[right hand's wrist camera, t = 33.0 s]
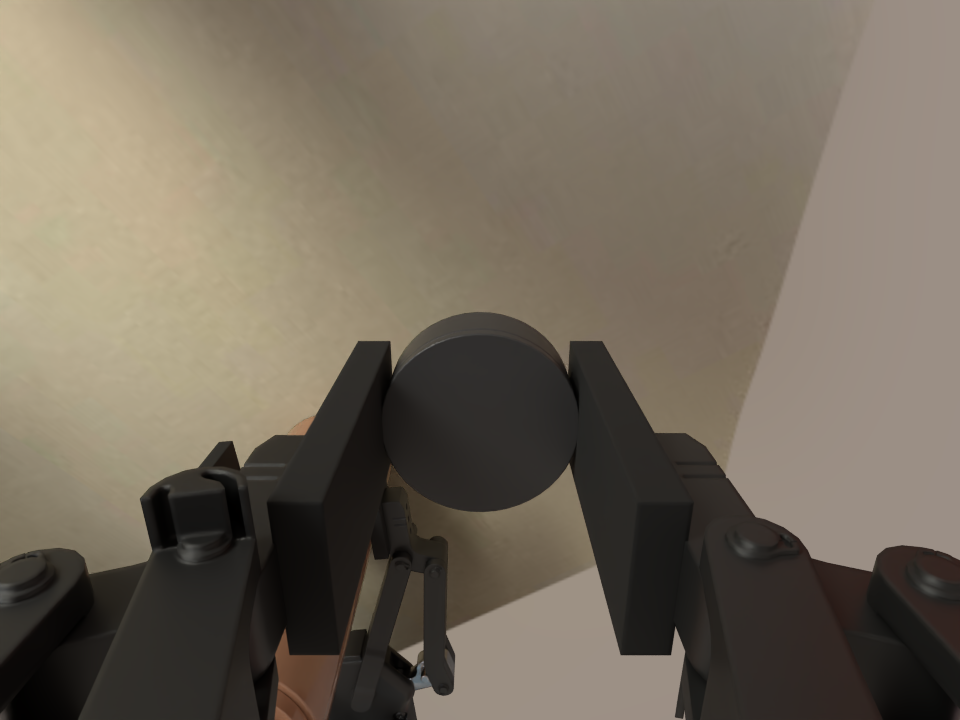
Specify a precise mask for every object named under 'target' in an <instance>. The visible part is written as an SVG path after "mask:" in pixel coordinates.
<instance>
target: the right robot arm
mask: <svg viewBox="0 0 960 720" xmlns="http://www.w3.org/2000/svg"><path fill="white" fill-rule="evenodd" d="M391 377H392V362H391V345H390V341H358V343H357V344H356V346H355V348H354V350H353V351H352V353H351V355H350V357H349V358H348V360H347V362H346V364H345V365H344V367H343V369H342V371H341V372H340V374H339V376H338V378H337V379H336V381H335V383H334V385H333V386H332V388H331V390H330V392H329V393H328V395H327V397H326V399H325V400H324V402H323V404H322V406H321V407H320V409H319V411H318V413H317V414H316V416H315V418H314V420H313V421H312V423H311V425H310V427H309V428H308V430H307V432H306V434H305V435H275V436H273V437H272V438H270V439H269V440H267V441H266V442H264V443H263V444H261V445H260V446H258V447H257V448H255V449H254V451H253V452H252V454H251V455H250V456H249V458H248V459H247V461H246V462H245V464H244V467H242V468H241V469H240V471H238V470H235V469H231V468H227V467H201V468H196V469H191V470H186V471H183V472H180V473H177V474H175V475H172V476H169V477H167V478H165V479H163V480H161V481H160V482H158V483H156V484H155V485H153V486H152V487H150V488H149V489H148V490H147V491H146V492H145V494H144V495H143V496H142V497H141V498H140V501H141V505H142V509H143V514H144V518H145V522H146V526H147V530H148V535H149V539H150V543H151V547H152V553H151V555H150V558H149V560H148V561H147V562H143V563H140V564H136V565H132V566H127V567H123V568H118V569H113V570H108V571H103V572H98V573H94V574H89V573H88V570H87V566H86V563H85V559H84V558H83V557H82V556H81V555H80V554H79V553H77V552H76V551H74V550H68V549H62V548H54V549H44V550H37V551H32V552H28V553H26V554H25V553H24V554H21V555H18V556H15V557H12V558H11V559H9V560H7V561H5V562H3V563H1V564H0V720H274V719H275V710H276V701H277V692H278V683H279V677H278V670H277V663H276V657H275V653H276V651H277V648H278V646H279V643H280V640H281V638H282V635H283V633H284V630H285V629H286V636H287V642H288V649H289V655H340V652H341V648H342V644H343V641H344V637H345V633H346V629H347V626H348V622H349V618H350V614H351V611H352V607H353V603H354V599H355V596H356V592H357V588H358V584H359V580H360V577H361V573H362V569H363V565H364V562H365V558H366V554H367V550H368V547H369V543H370V539H371V535H372V532H373V528H374V524H375V520H376V517H377V513H378V509H379V505H380V502H381V498H382V494H383V490H384V487H385V483H386V479H387V475H388V472H389V468H390V464H391V461H390V459H389V457H388V455H387V453H386V450H385V447H384V442H383V428H382V405H383V401H384V398H385V394H386V392H387V389H388V386H389V383H390V380H391ZM568 377H569V380H570V382H571V385H572V388H573V391H574V394H575V397H576V399H577V403H578V408H579V418H578V434H577V445H576V449H575V451H574V454H573V456H572V459H571V460H570V462H569V463H570V466H571V470H572V474H573V478H574V481H575V485H576V489H577V493H578V496H579V500H580V504H581V508H582V511H583V515H584V519H585V523H586V526H587V530H588V534H589V538H590V541H591V545H592V549H593V553H594V556H595V560H596V564H597V568H598V571H599V575H600V579H601V583H602V586H603V590H604V594H605V598H606V601H607V605H608V609H609V613H610V616H611V620H612V624H613V628H614V631H615V635H616V639H617V643H618V647H619V650H620V654H621V655H671V652H672V645H673V638H674V631H675V626H676V629H677V631H678V634H679V636H680V639H681V641H682V644H683V646H684V649H685V657H684V664H683V670H682V676H681V682H680V688H679V694H678V701H677V707H676V714H675V717H676V718H682V719H683V716H684V710H685V718H686V720H960V560H958V559H956V558H954V557H952V556H950V555H948V554H946V553H943V552H940V551H934V550H933V549H928V548H923V547H914V546H903V545H901V546H895V547H889V548H886V549H884V550H883V551H882V552H881V553H879V554H878V555H877V558H876V561H875V565H874V568H873V572H870V571H865V570H860V569H855V568H850V567H846V566H841V565H836V564H831V563H827V562H823V561H819V560H816V559H812V558H811V557H810V554H809V552H808V550H807V549H806V547H805V546H804V545H803V543H802V542H801V541H800V539H799V538H798V537H796V536H795V535H793V534H792V533H791V532H789V531H788V530H787V529H785V528H784V527H781V526H779V525H777V524H775V523H772V522H770V521H768V520H765V519H761V518H756V517H755V516H754V514H753V513H752V511H751V510H750V509H749V507H748V506H747V504H746V503H745V501H744V500H743V499H742V497H741V496H740V494H739V493H738V492H737V490H736V489H735V487H734V486H733V485H732V483H731V482H730V480H729V479H728V478H726V475H725V473H724V472H723V470H722V469H721V468H720V466H719V465H717V462H716V460H715V459H714V458H713V456H712V455H711V453H710V452H709V451H708V449H707V448H706V446H704V445H703V444H701V443H699V442H698V441H696V440H695V439H693V438H692V437H690V436H689V435H687V434H686V433H654V431H653V429H652V428H651V426H650V424H649V422H648V421H647V419H646V417H645V415H644V414H643V412H642V410H641V408H640V407H639V405H638V403H637V401H636V400H635V398H634V396H633V394H632V393H631V391H630V389H629V387H628V386H627V384H626V382H625V380H624V379H623V377H622V375H621V373H620V372H619V370H618V368H617V366H616V365H615V363H614V361H613V359H612V358H611V356H610V354H609V352H608V351H607V349H606V347H605V345H604V344H603V342H602V341H570V352H569V369H568Z"/></svg>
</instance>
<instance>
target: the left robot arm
mask: <svg viewBox="0 0 960 720" xmlns="http://www.w3.org/2000/svg"><path fill="white" fill-rule="evenodd" d="M201 467H227V468H231V469H235V470H238V471H240V466H239V462H238V459H237V455H236V452H235V448H234V445H233V441H227V442H219V443H218V444H217V445H216V446H215V448H214V449H213V450H212V451H211V453H210V454H209V455H208V456H207V458H206V459H205V460H204V461H203V462H202V464H201V465H200V466H199V467H198V468H201ZM371 543H372V548H373V553H374V558H375V560H378V559H389V561H388V564H387V568H386V571H385V575H384V578H383V582H382V586H381V589H380V593H379V596H378V600H377V603H376V607H375V610H374V613H373V616H372V619H371V623H370V627H369V630H368V633H367V631H366V629H364V630H353V631H351V632H350V636H349V640H348V644H347V648H346V652H345V656H344V660H343V664H342V668H341V672H340V676H339V680H338V684H337V688H336V692H335V696H334V700H333V704H332V708H331V712H330V716H329V720H417V718H416V712H415V707H414V702H413V696H414V692H415V690H418V689H423V688H427V687H431V686H432V687H433V689H434V691H435V692H436V693H437V694H439V695H442V696H444V695H449V694H451V693H452V692H453V689H454V668H455V653H454V651H453V649H452V647H451V644H450V642H449V640H448V638H447V635H446V611H447V566H448V543H447V541H446V539H445V538H443V537H440V536H435V537H432V538H430V540H428V539H423V538H420V537H419V536H417V527H416V525H415V524H414V523H412V520H411V514H410V509H409V503H408V496H407V493H406V492H405V490H404V489H403V487H393V488H388V485H387V480H386V483H385V487H384V490H383V494H382V498H381V502H380V505H379V509H378V513H377V517H376V520H375V524H374V528H373V532H372V535H371ZM389 554H390V557H389ZM411 571H415V572H420V573H424V650H423V651H421V652H420V653H419V655H418V661H417V664H416V665H415V666H413V665H412V664H411V663H410V662H409V661H407V660H406V659H405V658H404V657H402V656H401V655H400V654H399V653H397V652H396V651H395V650H394V649H392V648H391V647H390V646H389V641H390V638H391V635H392V631H393V628H394V625H395V621H396V618H397V615H398V612H399V608H400V605H401V602H402V598H403V595H404V592H405V588H406V585H407V582H408V578H409V575H410V572H411Z"/></svg>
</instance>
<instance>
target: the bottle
mask: <svg viewBox="0 0 960 720" xmlns="http://www.w3.org/2000/svg"><path fill="white" fill-rule="evenodd" d="M314 418H315V416H313V417H310V418H308V419H305V420H303V421H302V422H300V423H298V424H297V425H296V426H295V427H293V428H292V429H291V430H290V432H289V433H288V434H287V435H305V434H306V432H307V430H308V428H309V427H310V425H311V423H312V421H313V420H314ZM390 472H391V464H390V468H389V472H388V475H387V479H386V480H387V485H388V481H389V477H390ZM371 549H372V543H371V539H370V543H369V547H368V550H367V554H366V558H365V562H364V565H363V569H362V573H361V577H360V580H359V584H358V588H357V592H356V596H355V599H354V603H353V607H352V611H351V614H350V618H349V622H348V626H347V629H346V633H345V637H344V641H343V644H342V648H341V652H340V655H289V649H288V642H287V636H286V629H285V630H284V633H283V635H282V638H281V640H280V643H279V646H278V648H277V651H276V653H275V657H276V663H277V670H278V677H279V683H278V692H277V701H276V710H275V719H274V720H329V716H330V712H331V708H332V704H333V700H334V696H335V692H336V688H337V684H338V680H339V676H340V672H341V668H342V664H343V660H344V656H345V652H346V648H347V644H348V640H349V636H350V632H351V628H352V624H353V620H354V616H355V612H356V608H357V604H358V600H359V596H360V592H361V588H362V584H363V581H364V577H365V573H366V569H367V565H368V561H369V557H370V553H371Z"/></svg>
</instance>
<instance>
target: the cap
mask: <svg viewBox="0 0 960 720" xmlns="http://www.w3.org/2000/svg"><path fill="white" fill-rule="evenodd" d="M578 418H579V408H578V403H577V399H576V397H575V394H574V391H573V388H572V385H571V382H570V380H569V377H568V374H567V371H566V368H565V366H564V363H563V361H562V359H561V357H560V355H559V354H558V352H557V351H556V350H555V348H554V347H553V345H552V344H551V343H550V342H549V341H548V340H547V339H546V338H545V337H544V336H543V335H542V334H541V333H539V332H538V331H537V330H536V329H534V328H532V327H531V326H529V325H527V324H526V323H524V322H522V321H519V320H517V319H515V318H512V317H509V316H505V315H502V314H495V313H487V312H474V313H464V314H460V315H455V316H451V317H449V318H446V319H443V320H441V321H439V322H437V323H435V324H433V325H431V326H429V327H428V328H427V329H425V330H424V331H422V332H421V333H420V334H419V335H418V336H416V337H415V338H414V339H413V340H412V341H411V342H410V344H409V345H408V346H407V347H406V348H405V350H404V351H403V353H402V355H401V356H400V358H399V360H398V362H397V364H396V367H395V369H394V372H393V375H392V377H391V380H390V383H389V386H388V389H387V392H386V394H385V398H384V401H383V405H382V428H383V442H384V447H385V450H386V453H387V455H388V457H389V459H390V461H391V463H392V465H393V466H394V468H395V469H396V471H397V472H398V474H399V475H400V476H401V477H402V478H403V479H404V481H405V482H406V483H407V484H409V485H410V486H411V487H412V488H413V489H414V490H415V491H417V492H418V493H420V494H421V495H423V496H424V497H426V498H428V499H430V500H432V501H434V502H436V503H438V504H441V505H443V506H446V507H449V508H453V509H457V510H463V511H470V512H489V511H498V510H503V509H508V508H511V507H514V506H517V505H520V504H522V503H524V502H527V501H529V500H531V499H533V498H534V497H536V496H538V495H539V494H541V493H542V492H543V491H545V490H546V489H547V488H549V487H550V486H551V485H552V484H553V483H554V482H555V481H556V480H557V479H558V478H559V477H560V475H561V474H562V473H563V471H564V470H565V469H566V467H567V465H568V464H569V462H570V460H571V459H572V456H573V454H574V451H575V449H576V445H577V434H578Z"/></svg>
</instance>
